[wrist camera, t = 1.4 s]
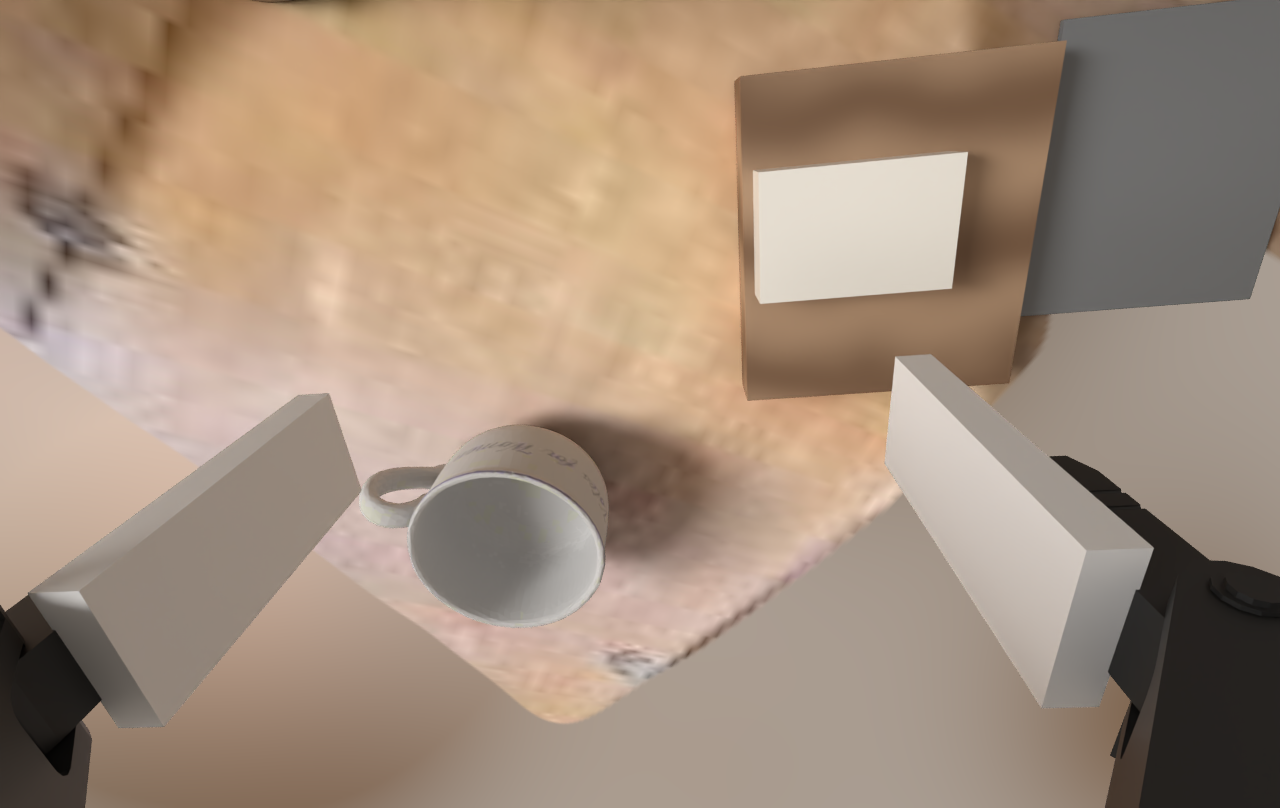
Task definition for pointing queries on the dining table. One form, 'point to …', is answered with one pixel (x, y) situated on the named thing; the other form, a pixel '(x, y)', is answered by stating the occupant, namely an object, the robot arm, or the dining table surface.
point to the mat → (1160, 159)
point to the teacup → (503, 525)
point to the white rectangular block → (857, 227)
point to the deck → (885, 127)
